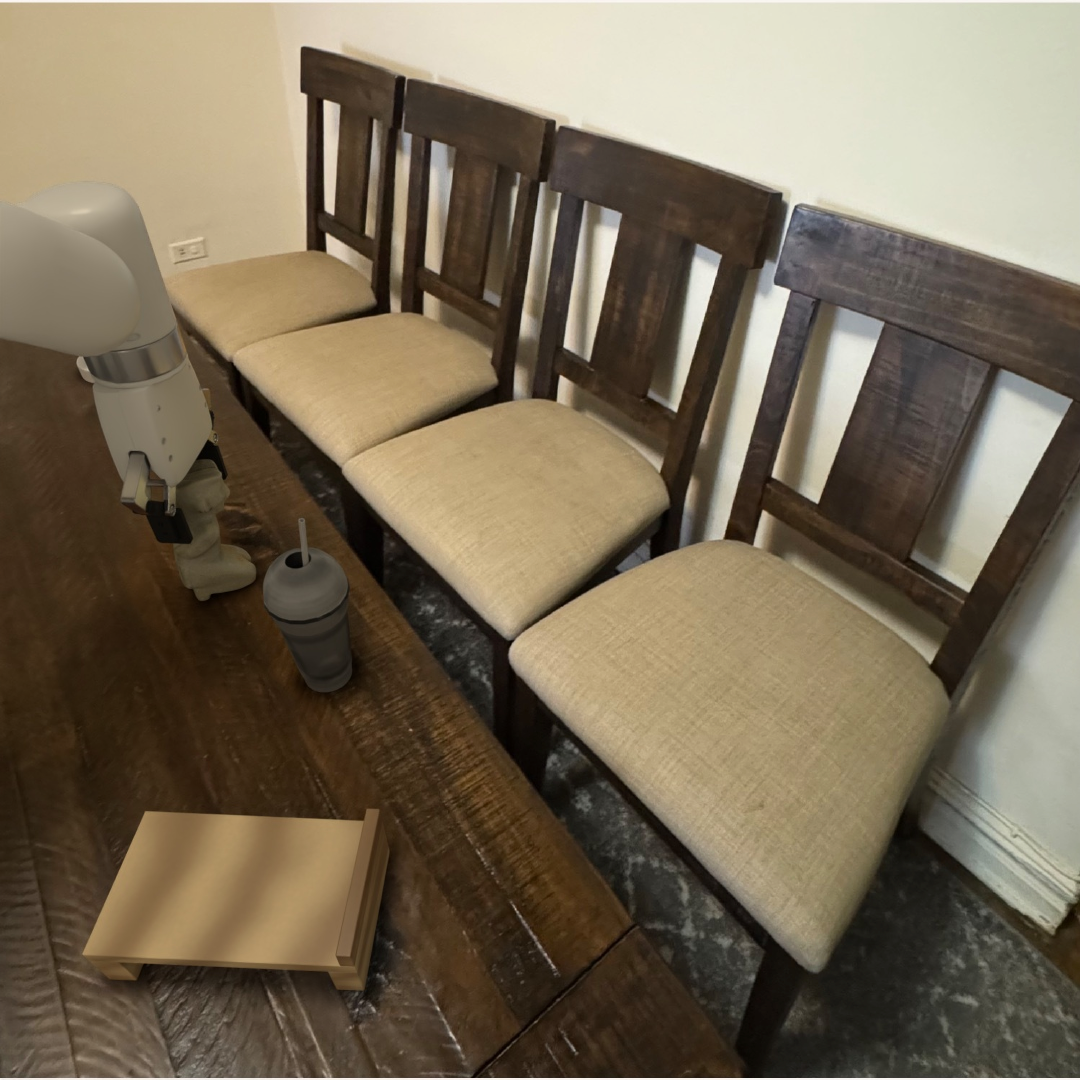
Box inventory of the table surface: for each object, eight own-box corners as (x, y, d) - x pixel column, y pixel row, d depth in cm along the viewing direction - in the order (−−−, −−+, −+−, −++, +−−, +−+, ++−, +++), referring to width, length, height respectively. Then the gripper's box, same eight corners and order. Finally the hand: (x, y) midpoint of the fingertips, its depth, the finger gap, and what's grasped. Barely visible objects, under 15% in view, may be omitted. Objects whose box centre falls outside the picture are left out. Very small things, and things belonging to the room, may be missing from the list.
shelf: (108, 979, 52) (68, 944, 47) (165, 840, 59) (136, 797, 55) (364, 991, 52) (350, 956, 47) (389, 850, 59) (379, 808, 55)
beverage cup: (306, 639, 75) (261, 484, 61) (376, 648, 74) (347, 494, 61) (277, 699, 69) (221, 544, 56) (352, 709, 69) (314, 555, 55)
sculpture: (264, 589, 79) (229, 479, 69) (194, 614, 77) (146, 503, 66) (249, 556, 83) (213, 447, 73) (182, 579, 80) (135, 469, 70)
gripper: (134, 299, 67) (190, 453, 79) (33, 405, 54) (117, 569, 66) (217, 303, 67) (260, 456, 79) (135, 410, 54) (201, 573, 66)
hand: (194, 508), depth 73 cm, fingers open, 9 cm apart
